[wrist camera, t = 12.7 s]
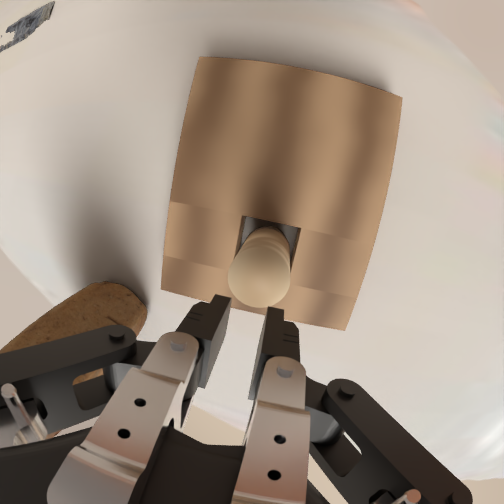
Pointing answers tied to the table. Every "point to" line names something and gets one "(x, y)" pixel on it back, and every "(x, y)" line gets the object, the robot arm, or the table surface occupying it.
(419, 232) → the table surface
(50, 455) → the robot arm
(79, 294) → the block
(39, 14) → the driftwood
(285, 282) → the peg
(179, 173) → the board
